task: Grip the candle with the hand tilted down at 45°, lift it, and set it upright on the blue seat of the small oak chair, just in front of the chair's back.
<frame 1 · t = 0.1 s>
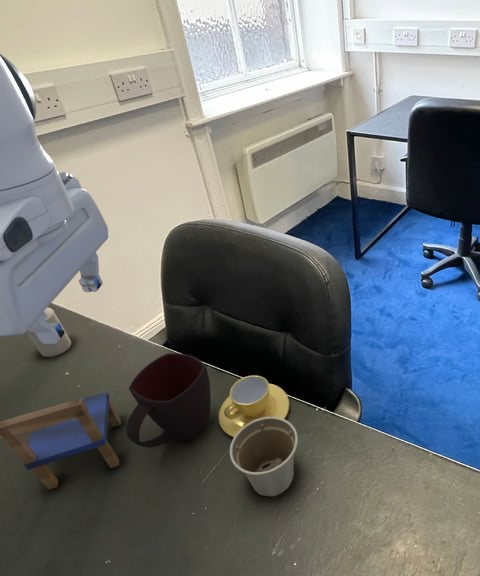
hand: (75, 312, 52), 31 cm above the table, tool pointing down, fingers open, 8 cm apart
flower pot: (273, 478, 67), on the table
cup: (255, 411, 77), on the table
candle: (56, 348, 91), on the table
mug: (181, 434, 74), on the table
chair: (87, 452, 71), on the table
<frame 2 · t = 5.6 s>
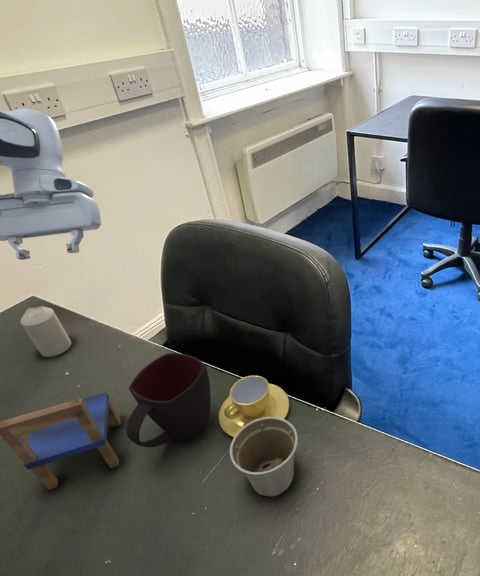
hand: (48, 255, 90), 16 cm above the table, tool tilted 40°, fingers open, 8 cm apart
nothing on the table moved.
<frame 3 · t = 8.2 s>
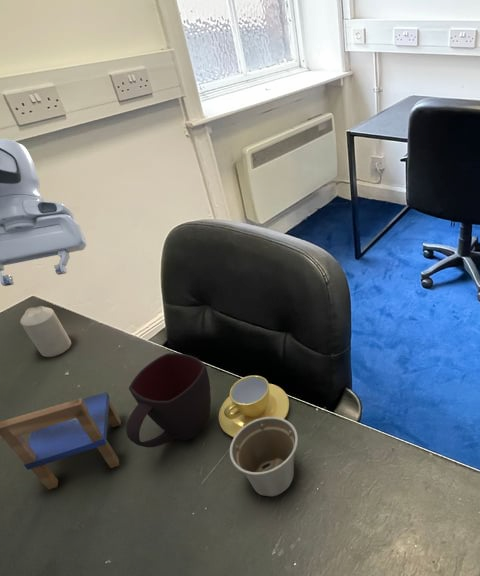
hand: (35, 279, 90), 12 cm above the table, tool tilted 45°, fingers open, 8 cm apart
nothing on the table moved.
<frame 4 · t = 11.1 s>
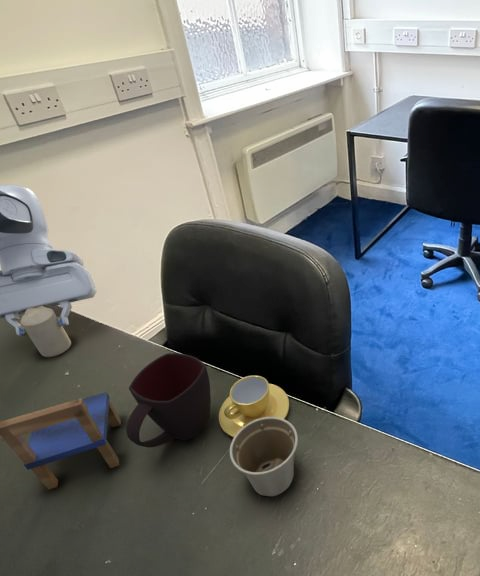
hand: (44, 330, 88), 5 cm above the table, tool tilted 45°, fingers closed on candle, 5 cm apart
candle: (56, 348, 91), on the table, touching gripper
everything else where it was.
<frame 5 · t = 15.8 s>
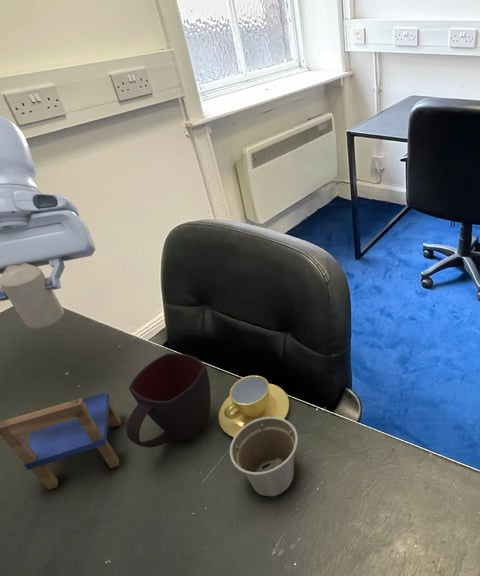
hand: (29, 294, 70), 22 cm above the table, tool tilted 45°, fingers closed on candle, 5 cm apart
candle: (46, 318, 73), point 16 cm above the table, touching gripper
everything else where it was.
when the fingers open (12 cm above the table, at t = 20.5 s): candle stays where it is, resting on chair.
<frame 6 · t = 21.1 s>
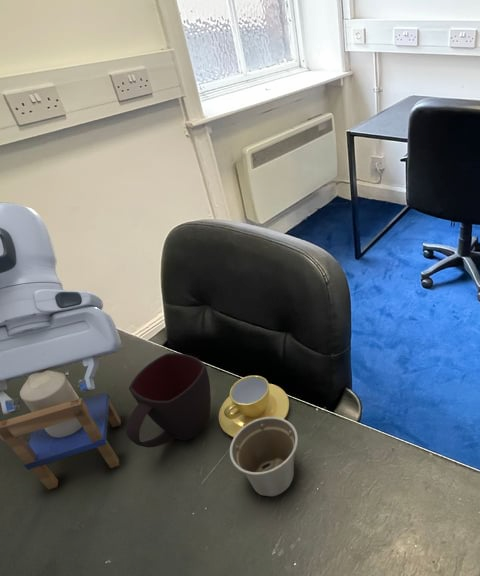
hand: (51, 401, 64), 13 cm above the table, tool tilted 45°, fingers open, 8 cm apart
candle: (69, 423, 68), point 7 cm above the table, touching chair
everything else where it was.
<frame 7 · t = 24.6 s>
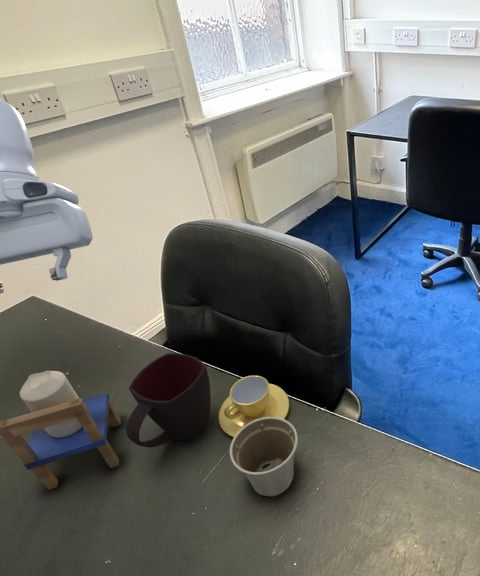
hand: (27, 286, 68), 24 cm above the table, tool tilted 40°, fingers open, 8 cm apart
nothing on the table moved.
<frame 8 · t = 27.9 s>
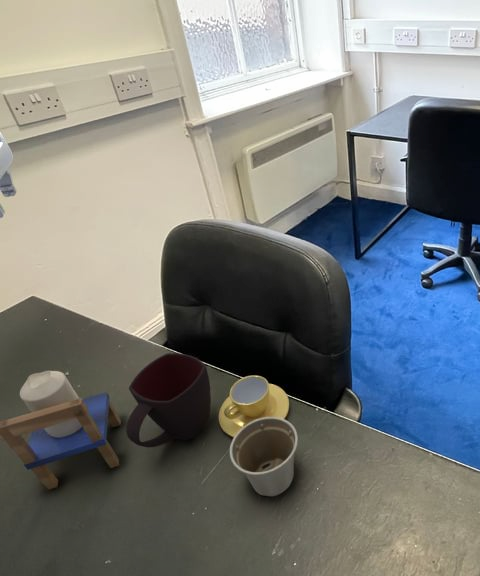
hand: (5, 205, 75), 31 cm above the table, tool pointing down, fingers open, 8 cm apart
nothing on the table moved.
at the end: candle inside the target area on the chair (0.5 cm from its centre), point 6.8 cm above the chair's base; candle tilted 0°; the gripper is holding nothing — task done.
